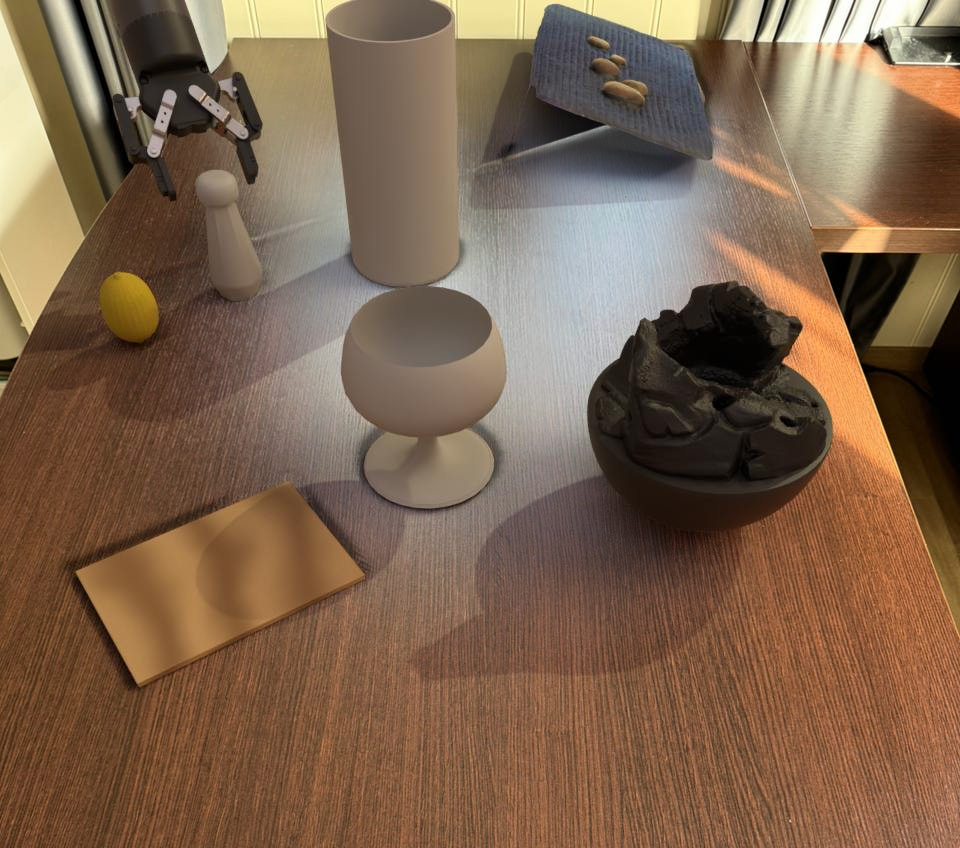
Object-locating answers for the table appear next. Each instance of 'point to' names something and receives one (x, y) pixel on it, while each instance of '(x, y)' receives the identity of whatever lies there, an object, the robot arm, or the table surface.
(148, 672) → the cork mat
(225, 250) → the salt shaker
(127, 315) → the lemon
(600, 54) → the mat
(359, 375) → the chalice
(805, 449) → the bowl of black rocks
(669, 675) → the table surface
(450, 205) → the cylinder vase
